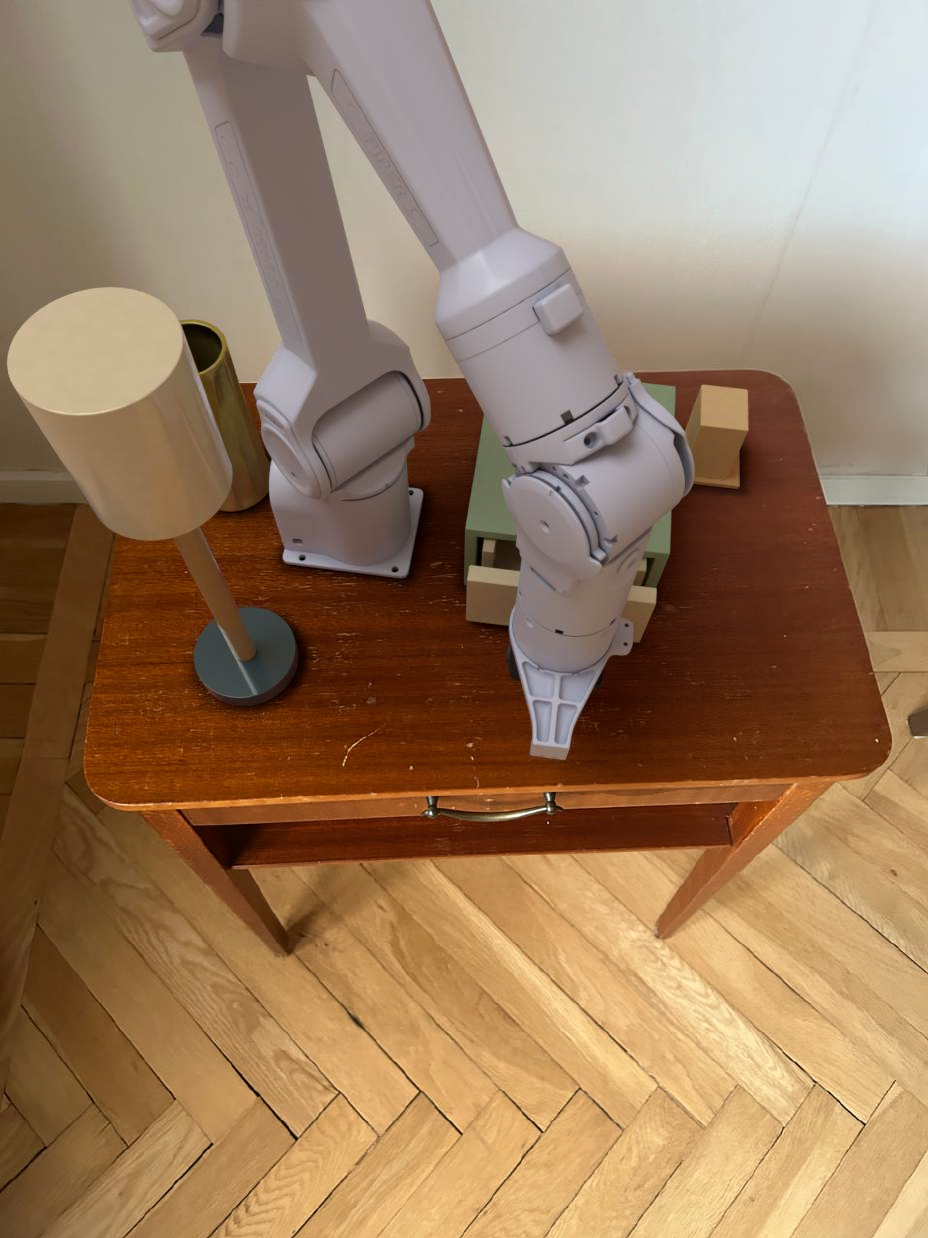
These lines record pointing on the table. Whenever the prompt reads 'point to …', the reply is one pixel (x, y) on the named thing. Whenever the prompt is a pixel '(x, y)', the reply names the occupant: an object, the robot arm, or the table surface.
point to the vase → (229, 415)
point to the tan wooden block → (717, 429)
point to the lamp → (148, 458)
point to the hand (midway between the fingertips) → (547, 689)
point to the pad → (730, 482)
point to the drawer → (499, 583)
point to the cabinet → (494, 517)
